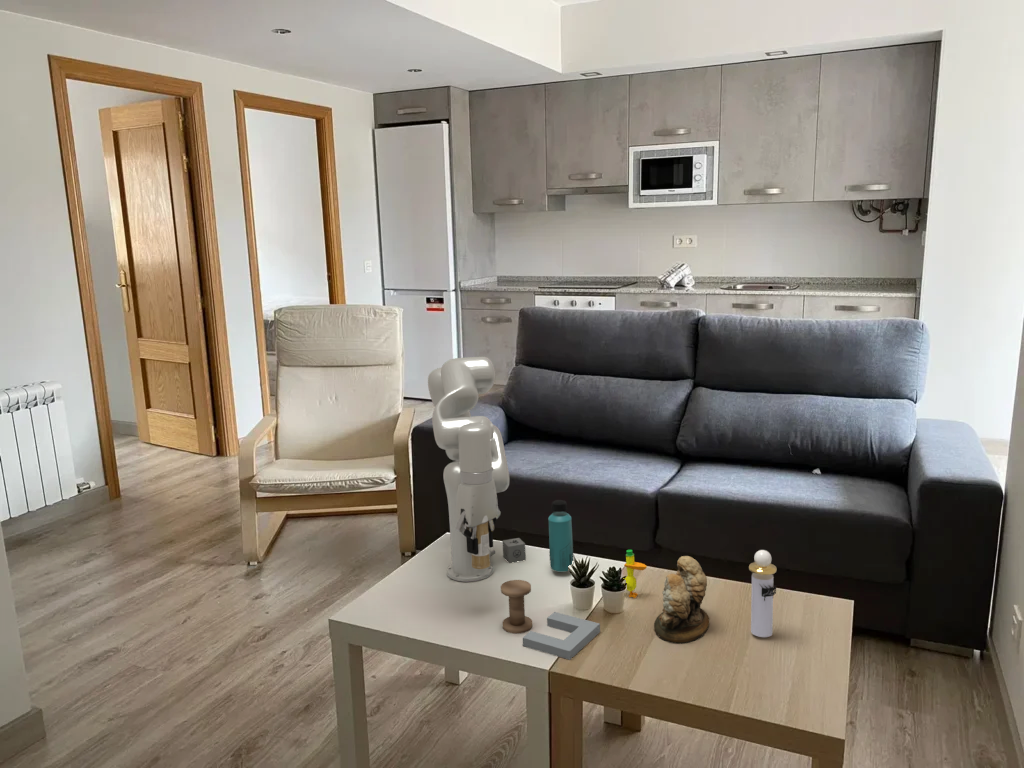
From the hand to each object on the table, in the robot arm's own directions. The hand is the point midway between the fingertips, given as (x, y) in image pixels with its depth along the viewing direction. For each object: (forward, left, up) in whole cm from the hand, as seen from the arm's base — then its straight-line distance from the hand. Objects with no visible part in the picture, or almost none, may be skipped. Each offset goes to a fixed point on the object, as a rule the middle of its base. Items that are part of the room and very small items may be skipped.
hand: (480, 548), depth 188 cm
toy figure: (-26, +28, -17) cm, 41 cm away
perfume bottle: (-22, +61, -17) cm, 67 cm away
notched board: (+1, +23, -17) cm, 28 cm away
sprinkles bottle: (0, 0, -5) cm, 5 cm away
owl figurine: (-18, +44, -17) cm, 50 cm away
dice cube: (-32, -12, -17) cm, 38 cm away
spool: (+1, +11, -17) cm, 20 cm away
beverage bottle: (-30, +5, -17) cm, 35 cm away
